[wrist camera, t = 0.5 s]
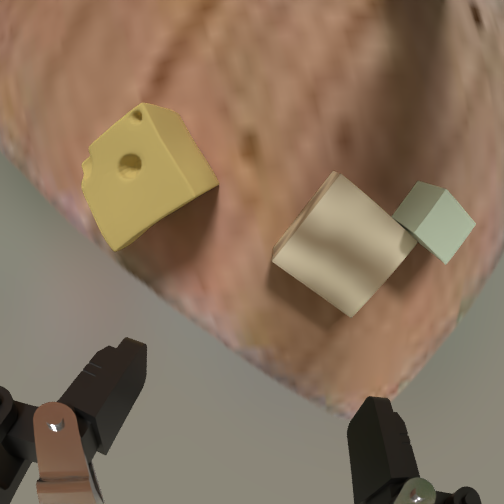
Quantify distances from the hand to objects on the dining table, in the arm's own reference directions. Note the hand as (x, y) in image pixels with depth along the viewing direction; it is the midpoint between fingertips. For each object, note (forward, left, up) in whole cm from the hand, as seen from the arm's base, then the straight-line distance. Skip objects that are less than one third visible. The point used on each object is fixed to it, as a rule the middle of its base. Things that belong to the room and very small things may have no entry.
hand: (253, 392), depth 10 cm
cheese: (+2, -14, -26) cm, 30 cm away
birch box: (-3, +7, -26) cm, 27 cm away
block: (-11, +13, -26) cm, 31 cm away
